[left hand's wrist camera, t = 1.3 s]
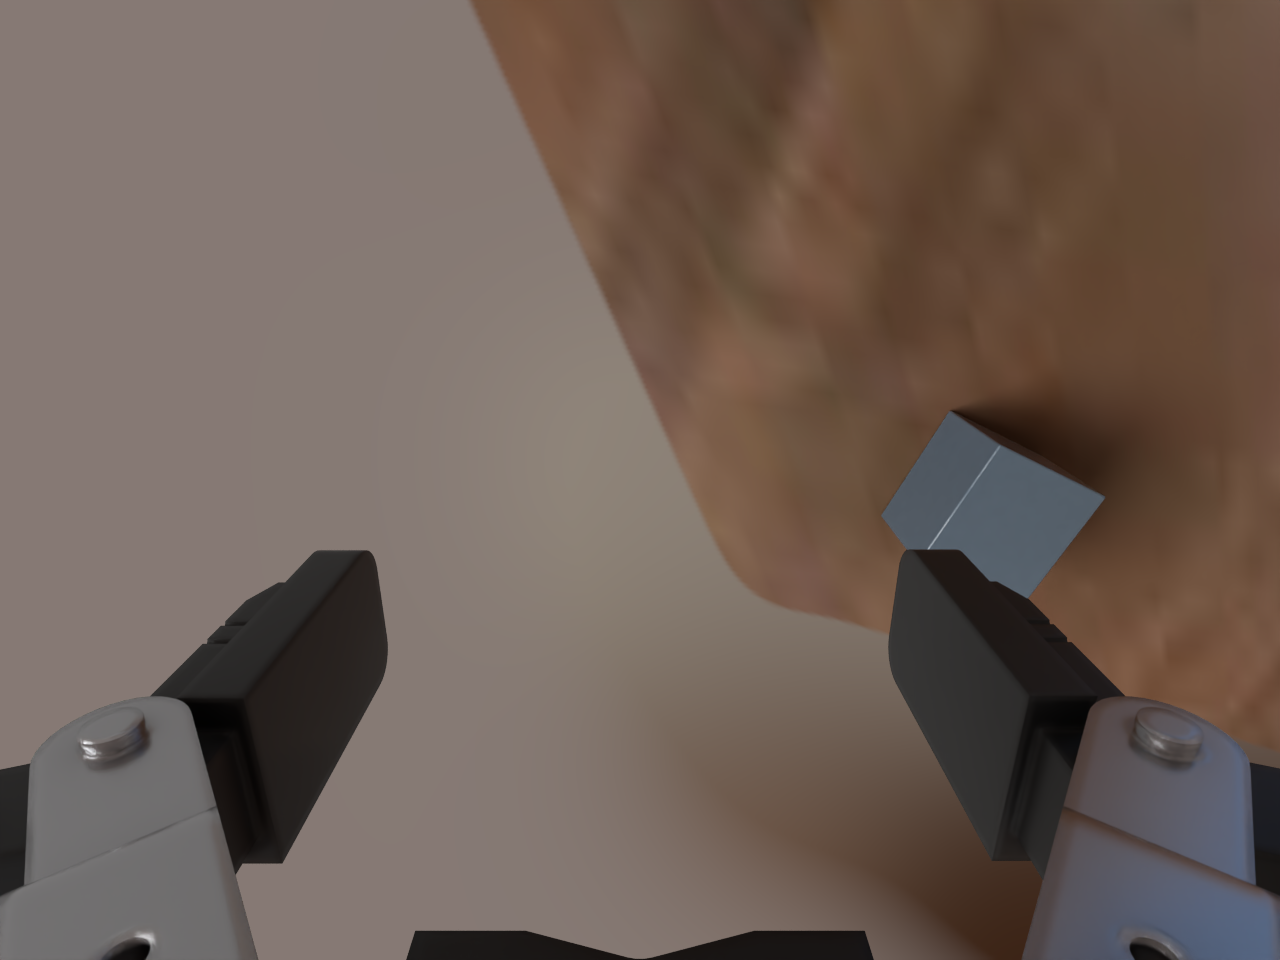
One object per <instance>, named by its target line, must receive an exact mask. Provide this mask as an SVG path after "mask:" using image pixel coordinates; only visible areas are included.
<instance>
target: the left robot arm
mask: <svg viewBox="0 0 1280 960" xmlns="http://www.w3.org/2000/svg"><path fill="white" fill-rule="evenodd" d="M888 648H889V661H890V667H891V671H892V675H893V678H894V680H895V682H896V684H897V686H898V688H899V690H900V691H901V693H902V695H903V697H904V699H905V701H906V703H907V704H908V706H909V708H910V710H911V712H912V714H913V716H914V717H915V719H916V721H917V723H918V725H919V727H920V729H921V730H922V732H923V734H924V736H925V738H926V740H927V741H928V743H929V745H930V747H931V749H932V751H933V753H934V754H935V756H936V758H937V760H938V762H939V764H940V766H941V767H942V769H943V771H944V773H945V775H946V777H947V779H948V780H949V782H950V784H951V786H952V788H953V790H954V791H955V793H956V795H957V797H958V799H959V801H960V803H961V804H962V806H963V808H964V810H965V812H966V814H967V816H968V817H969V819H970V821H971V823H972V825H973V827H974V829H975V830H976V832H977V834H978V836H979V838H980V840H981V841H982V843H983V845H984V847H985V849H986V851H987V853H988V854H989V856H990V858H991V860H992V861H1032V863H1033V864H1034V866H1035V868H1036V869H1037V871H1038V873H1039V874H1040V876H1041V878H1042V879H1043V883H1042V887H1041V890H1040V894H1039V898H1038V901H1037V905H1036V909H1035V912H1034V916H1033V920H1032V924H1031V928H1030V931H1029V935H1028V938H1027V942H1026V946H1025V950H1024V953H1023V957H1022V960H1280V769H1279V768H1274V767H1269V766H1264V765H1259V764H1254V763H1249V760H1248V758H1247V756H1246V754H1245V753H1244V751H1243V750H1242V749H1241V747H1240V746H1239V745H1238V744H1237V743H1236V742H1235V741H1234V740H1233V739H1232V738H1231V737H1230V736H1228V735H1227V734H1226V733H1224V732H1223V731H1222V730H1220V729H1219V728H1218V727H1216V726H1214V725H1213V724H1211V723H1210V722H1208V721H1206V720H1204V719H1202V718H1200V717H1199V716H1197V715H1195V714H1192V713H1190V712H1188V711H1186V710H1183V709H1181V708H1178V707H1175V706H1172V705H1170V704H1166V703H1163V702H1159V701H1155V700H1151V699H1146V698H1139V697H1128V696H1125V695H1124V694H1123V693H1122V692H1121V691H1120V690H1119V689H1118V688H1117V687H1116V686H1115V685H1114V684H1113V683H1112V682H1111V681H1110V680H1109V679H1108V678H1107V677H1106V676H1105V675H1104V674H1103V673H1102V672H1101V671H1100V670H1099V669H1098V668H1097V667H1096V666H1095V665H1094V664H1093V663H1092V662H1091V661H1090V660H1089V659H1088V658H1087V657H1086V656H1085V655H1084V654H1083V653H1082V652H1081V651H1080V650H1079V649H1078V648H1077V647H1076V646H1075V645H1074V644H1073V643H1072V642H1067V637H1066V636H1065V635H1064V634H1063V633H1062V632H1061V631H1060V630H1059V629H1058V628H1057V627H1056V626H1055V625H1054V624H1050V623H1049V619H1048V618H1047V617H1046V616H1045V615H1044V614H1043V613H1042V612H1041V611H1040V610H1039V609H1038V608H1037V607H1036V606H1035V605H1034V604H1033V603H1032V602H1031V601H1030V600H1029V599H1027V598H1026V597H1024V596H1022V595H1020V594H1019V593H1017V592H1015V591H1013V590H1011V589H1010V588H1008V587H1006V586H1004V585H1002V584H1001V583H999V582H997V581H989V580H988V579H987V578H986V577H985V576H984V574H983V573H982V572H981V571H980V570H979V569H978V568H977V567H976V566H975V565H974V564H973V563H972V562H971V561H970V560H969V559H968V557H967V556H966V555H965V554H964V553H963V552H962V551H960V550H958V549H908V550H906V551H905V552H904V554H903V555H902V558H901V561H900V565H899V571H898V578H897V585H896V592H895V599H894V606H893V613H892V620H891V627H890V634H889V646H888ZM387 655H388V642H387V634H386V628H385V620H384V614H383V607H382V600H381V593H380V586H379V579H378V572H377V566H376V562H375V559H374V556H373V555H372V553H371V552H370V551H367V550H366V551H365V550H361V551H360V550H351V551H350V550H348V551H347V550H342V551H341V550H335V551H333V550H328V551H326V550H321V551H316V552H314V553H313V554H312V555H311V556H310V557H309V558H308V559H307V560H306V561H305V562H304V563H303V564H302V565H301V566H300V568H299V569H298V570H297V571H296V572H295V573H294V574H293V575H292V576H291V577H290V578H289V579H288V580H287V581H286V582H285V583H277V584H275V585H273V586H272V587H270V588H268V589H266V590H264V591H263V592H261V593H259V594H257V595H255V596H254V597H252V598H250V599H248V600H247V601H245V602H244V604H242V605H241V606H240V607H239V608H238V610H236V611H235V612H234V613H233V614H232V615H231V616H230V617H229V618H228V619H227V620H226V622H225V626H220V627H219V628H218V629H217V630H216V631H215V632H214V633H213V634H212V635H211V636H210V637H209V638H208V642H207V644H202V645H201V646H200V647H199V648H198V649H197V650H196V651H195V652H194V653H193V654H192V655H191V656H190V657H189V658H188V659H187V660H186V661H185V662H184V663H183V664H182V665H181V666H180V667H179V668H178V669H177V670H176V671H175V672H174V673H173V674H172V675H171V676H170V677H169V678H168V679H167V680H166V681H165V682H164V683H163V684H162V685H161V686H160V687H159V688H158V689H157V690H156V691H155V692H154V693H153V694H152V695H151V696H150V697H141V698H134V699H129V700H125V701H121V702H117V703H114V704H110V705H108V706H105V707H102V708H99V709H97V710H94V711H92V712H90V713H88V714H85V715H83V716H82V717H80V718H78V719H76V720H74V721H72V722H70V723H69V724H67V725H66V726H64V727H62V728H61V729H60V730H58V731H57V732H56V733H54V734H53V735H52V736H50V737H49V738H48V739H47V740H46V741H45V742H44V743H43V744H42V745H41V746H40V747H39V749H38V750H37V751H36V753H35V754H34V756H33V758H32V760H31V763H30V764H26V765H21V766H16V767H11V768H7V769H2V770H0V960H258V957H257V953H256V950H255V946H254V942H253V938H252V935H251V931H250V927H249V924H248V920H247V916H246V912H245V909H244V905H243V901H242V898H241V894H240V890H239V887H238V883H237V879H236V873H237V872H238V870H239V868H240V867H241V865H242V863H283V861H284V859H285V858H286V856H287V854H288V852H289V850H290V848H291V847H292V845H293V843H294V841H295V839H296V837H297V836H298V834H299V832H300V830H301V828H302V826H303V825H304V823H305V821H306V819H307V817H308V815H309V814H310V812H311V810H312V808H313V806H314V804H315V803H316V801H317V799H318V797H319V795H320V794H321V792H322V790H323V788H324V786H325V784H326V783H327V781H328V779H329V777H330V775H331V773H332V772H333V770H334V768H335V766H336V764H337V762H338V761H339V759H340V757H341V755H342V753H343V751H344V750H345V748H346V746H347V744H348V742H349V741H350V739H351V737H352V735H353V733H354V731H355V729H356V728H357V726H358V724H359V722H360V720H361V719H362V717H363V715H364V713H365V711H366V709H367V708H368V706H369V704H370V702H371V700H372V698H373V697H374V695H375V693H376V691H377V689H378V687H379V686H380V684H381V681H382V679H383V676H384V673H385V669H386V664H387ZM406 960H874V959H873V956H872V953H871V950H870V946H869V943H868V940H867V937H866V934H865V931H752V932H748V933H744V934H740V935H737V936H733V937H729V938H725V939H721V940H718V941H714V942H710V943H706V944H702V945H698V946H695V947H691V948H687V949H683V950H679V951H676V952H672V953H668V954H664V955H660V956H656V957H653V958H647V959H633V958H627V957H624V956H620V955H616V954H612V953H608V952H604V951H601V950H597V949H593V948H589V947H585V946H582V945H578V944H574V943H570V942H566V941H562V940H558V939H555V938H551V937H547V936H543V935H540V934H536V933H532V932H528V931H415V934H414V937H413V940H412V943H411V946H410V950H409V953H408V956H407V959H406Z"/></svg>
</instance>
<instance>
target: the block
mask: <svg viewBox="0 0 1280 960" xmlns="http://www.w3.org/2000/svg"><path fill="white" fill-rule="evenodd" d="M1104 499H1105V496H1104V495H1103V494H1101V493H1099V492H1098V491H1096V490H1095V489H1093V488H1092V487H1090V486H1088V485H1087V484H1085V483H1084V482H1082V481H1081V480H1079V479H1077V478H1076V477H1074V476H1073V475H1071V474H1070V473H1068V472H1067V471H1065V470H1063V469H1062V468H1060V467H1059V466H1057V465H1056V464H1054V463H1052V462H1051V461H1049V460H1048V459H1046V458H1045V457H1043V456H1041V455H1039V454H1037V453H1035V452H1033V451H1031V450H1029V449H1027V448H1025V447H1023V446H1021V445H1019V444H1017V443H1015V442H1013V441H1011V440H1009V439H1007V438H1005V437H1003V436H1001V435H999V434H997V433H995V432H993V431H991V430H989V429H987V428H985V427H983V426H981V425H979V424H977V423H975V422H973V421H971V420H969V419H967V418H965V417H963V416H961V415H959V414H957V413H955V412H953V411H949V413H948V414H947V416H946V417H945V419H944V420H943V422H942V423H941V425H940V426H939V428H938V429H937V431H936V432H935V434H934V435H933V437H932V439H931V440H930V442H929V443H928V445H927V446H926V448H925V449H924V451H923V452H922V454H921V455H920V457H919V458H918V460H917V461H916V463H915V465H914V466H913V468H912V469H911V471H910V472H909V474H908V475H907V477H906V478H905V480H904V481H903V483H902V484H901V486H900V487H899V489H898V491H897V492H896V494H895V495H894V497H893V498H892V500H891V501H890V503H889V504H888V506H887V507H886V509H885V510H884V512H883V513H882V518H883V519H884V520H885V522H886V523H887V524H888V526H889V527H890V528H891V529H892V531H893V532H894V533H895V535H896V536H897V537H898V539H899V540H900V541H901V543H902V544H903V545H904V547H905V548H906V549H907V550H908V549H958V550H960V551H962V552H963V553H964V554H965V555H966V556H967V557H968V559H969V560H970V561H971V562H972V563H973V564H974V565H975V566H976V567H977V568H978V569H979V570H980V571H981V572H982V573H983V574H984V576H985V577H986V578H987V579H988V580H989V581H997V582H999V583H1001V584H1002V585H1004V586H1006V587H1008V588H1010V589H1011V590H1013V591H1015V592H1017V593H1019V594H1020V595H1022V596H1024V597H1026V598H1027V599H1028V598H1029V597H1030V595H1031V594H1032V593H1033V591H1034V590H1035V589H1036V588H1037V586H1038V585H1039V584H1040V582H1041V581H1042V580H1043V578H1044V577H1045V576H1046V575H1047V573H1048V572H1049V571H1050V569H1051V568H1052V567H1053V565H1054V564H1055V563H1056V562H1057V560H1058V559H1059V558H1060V556H1061V555H1062V554H1063V552H1064V551H1065V550H1066V549H1067V547H1068V546H1069V545H1070V543H1071V542H1072V541H1073V540H1074V538H1075V537H1076V536H1077V534H1078V533H1079V532H1080V530H1081V529H1082V528H1083V527H1084V525H1085V524H1086V523H1087V521H1088V520H1089V519H1090V517H1091V516H1092V515H1093V514H1094V512H1095V511H1096V510H1097V508H1098V507H1099V506H1100V504H1101V503H1102V502H1103V501H1104Z"/></svg>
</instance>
